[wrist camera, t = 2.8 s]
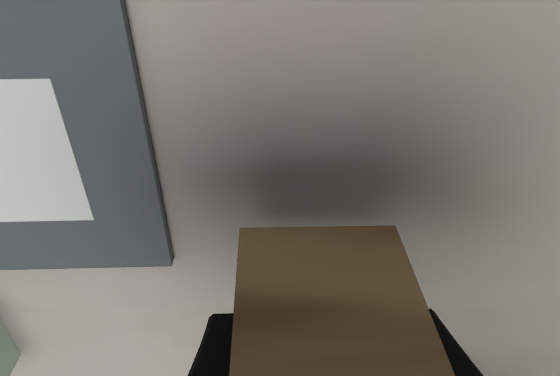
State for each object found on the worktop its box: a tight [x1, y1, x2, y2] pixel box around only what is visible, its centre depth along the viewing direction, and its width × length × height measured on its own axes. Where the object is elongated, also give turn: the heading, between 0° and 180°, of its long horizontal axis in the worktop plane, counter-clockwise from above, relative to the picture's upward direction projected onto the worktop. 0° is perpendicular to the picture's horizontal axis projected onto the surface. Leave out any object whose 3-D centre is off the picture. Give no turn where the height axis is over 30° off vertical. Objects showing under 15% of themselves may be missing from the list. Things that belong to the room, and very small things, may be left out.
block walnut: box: [229, 226, 455, 376], centre depth 10 cm, size 4×4×5 cm
